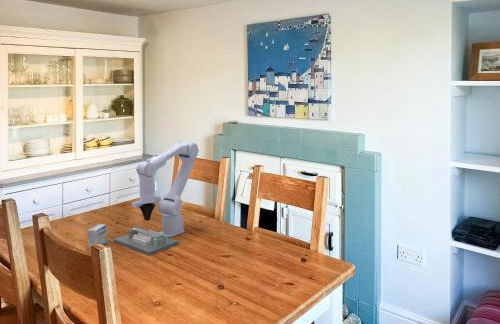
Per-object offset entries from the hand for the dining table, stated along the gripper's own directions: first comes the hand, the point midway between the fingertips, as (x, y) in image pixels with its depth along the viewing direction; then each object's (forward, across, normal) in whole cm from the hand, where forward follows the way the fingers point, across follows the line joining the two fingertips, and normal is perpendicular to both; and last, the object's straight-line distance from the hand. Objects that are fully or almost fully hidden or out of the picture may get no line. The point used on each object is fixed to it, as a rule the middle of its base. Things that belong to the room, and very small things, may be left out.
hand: (147, 220), depth 187 cm
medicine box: (+10, -16, +13) cm, 23 cm away
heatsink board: (+10, -2, -1) cm, 10 cm away
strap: (+6, -2, -2) cm, 6 cm away
